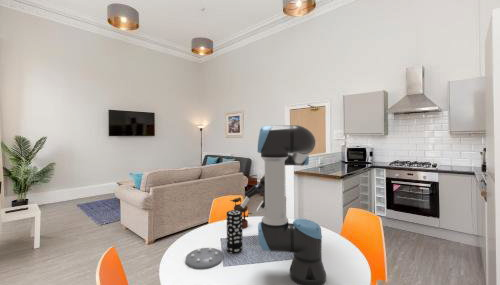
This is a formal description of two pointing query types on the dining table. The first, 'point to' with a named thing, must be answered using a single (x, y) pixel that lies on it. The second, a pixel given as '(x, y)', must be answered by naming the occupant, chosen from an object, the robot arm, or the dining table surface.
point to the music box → (239, 208)
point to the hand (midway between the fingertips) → (249, 209)
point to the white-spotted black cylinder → (234, 232)
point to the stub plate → (204, 258)
